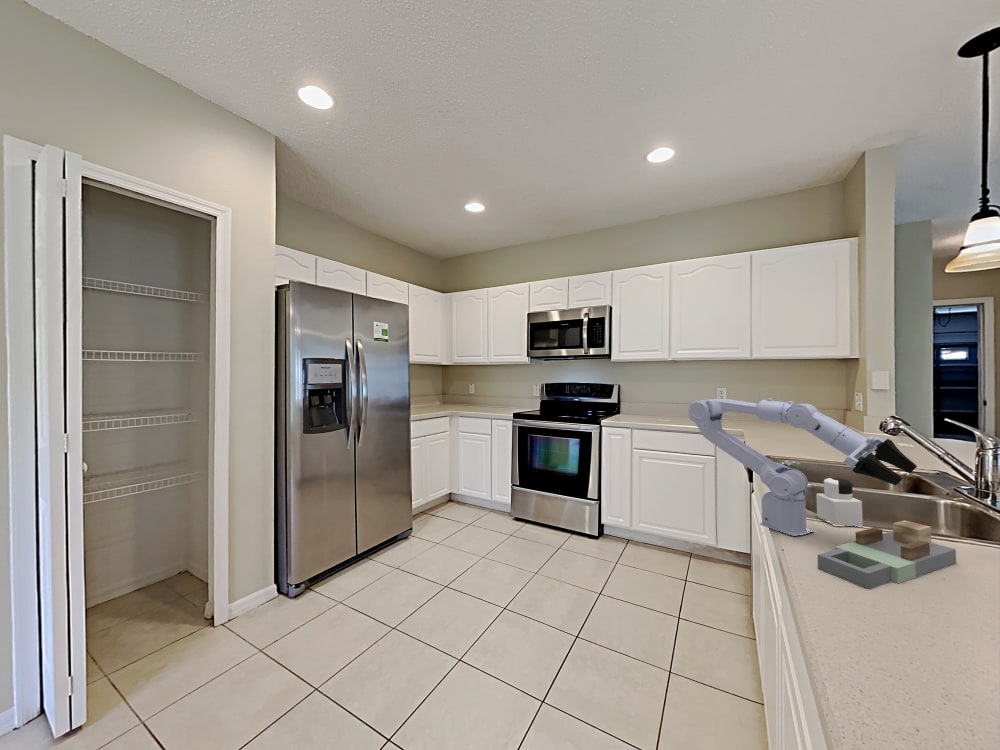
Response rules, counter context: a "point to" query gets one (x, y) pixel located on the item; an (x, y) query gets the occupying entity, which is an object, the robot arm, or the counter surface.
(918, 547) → the brown rectangular blocks
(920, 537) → the maple block
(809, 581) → the counter surface
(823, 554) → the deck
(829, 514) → the white stepped box
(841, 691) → the counter surface
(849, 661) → the counter surface
